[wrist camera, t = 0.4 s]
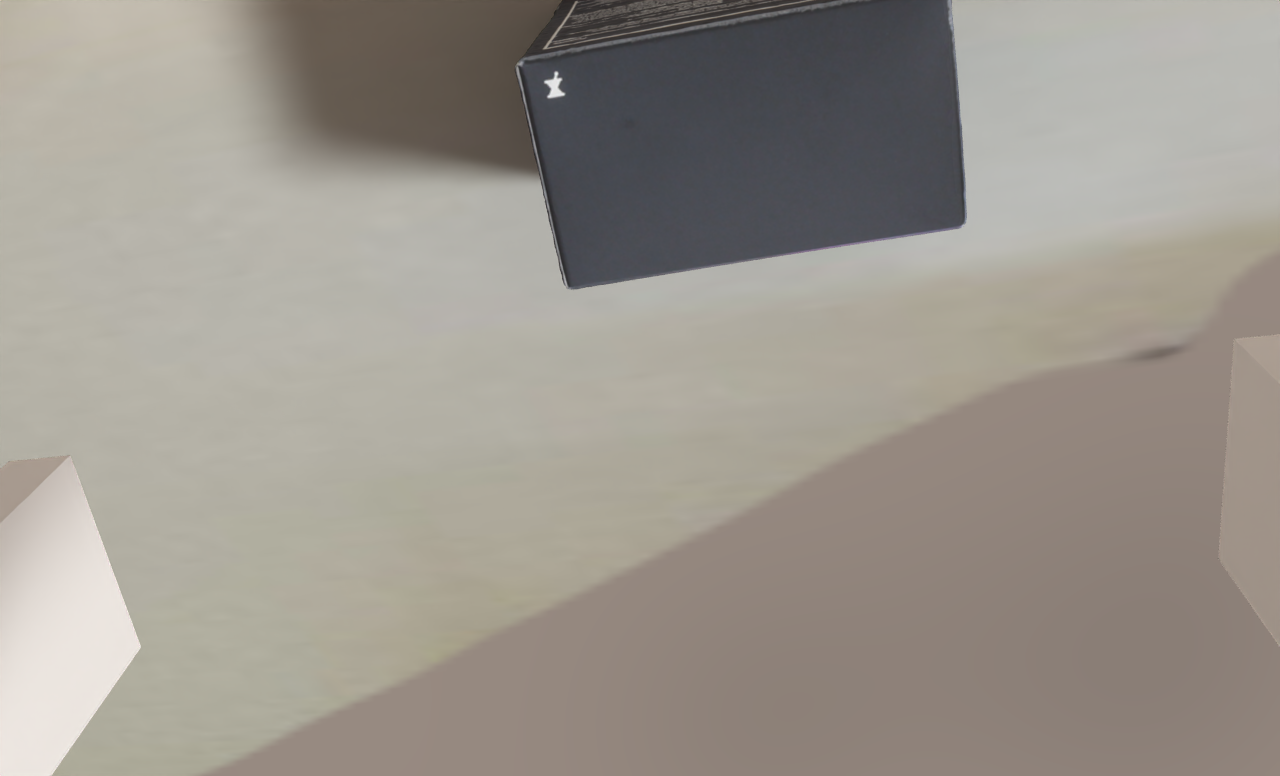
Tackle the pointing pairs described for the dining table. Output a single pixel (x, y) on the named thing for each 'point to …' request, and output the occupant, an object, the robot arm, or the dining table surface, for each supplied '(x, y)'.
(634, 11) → the small box
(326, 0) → the dining table surface
